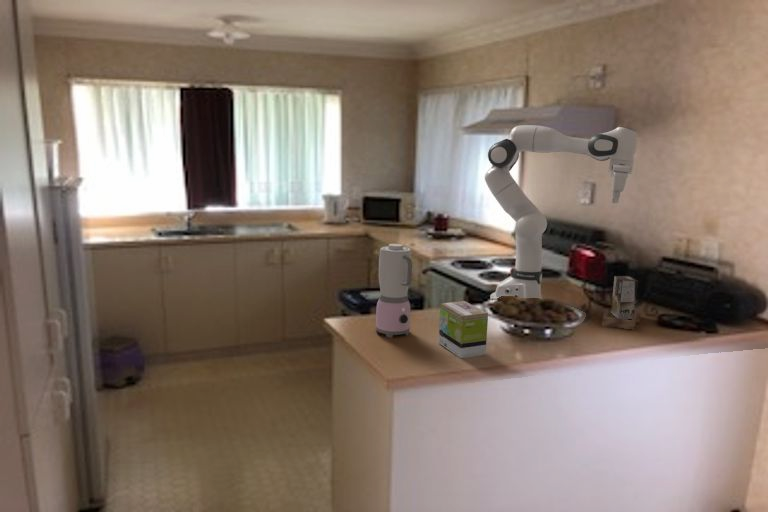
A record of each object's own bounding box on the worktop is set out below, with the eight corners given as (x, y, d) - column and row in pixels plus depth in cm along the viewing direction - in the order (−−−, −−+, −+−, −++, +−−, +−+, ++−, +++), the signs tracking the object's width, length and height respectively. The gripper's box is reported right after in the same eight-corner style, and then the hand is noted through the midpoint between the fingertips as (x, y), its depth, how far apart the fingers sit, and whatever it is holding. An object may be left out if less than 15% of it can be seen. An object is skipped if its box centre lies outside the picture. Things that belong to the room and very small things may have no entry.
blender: (368, 330, 215) (371, 243, 209) (396, 325, 222) (399, 240, 215) (393, 343, 202) (396, 250, 196) (421, 337, 209) (426, 248, 203)
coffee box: (634, 320, 238) (638, 280, 235) (618, 319, 238) (622, 280, 235) (625, 313, 247) (629, 275, 244) (610, 312, 247) (614, 275, 244)
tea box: (437, 344, 203) (439, 302, 200) (462, 340, 207) (465, 299, 204) (460, 359, 189) (462, 314, 186) (486, 355, 193) (489, 311, 190)
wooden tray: (598, 325, 230) (599, 316, 229) (602, 316, 241) (603, 308, 240) (636, 331, 224) (637, 322, 223) (639, 322, 235) (640, 313, 234)
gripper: (611, 169, 248) (605, 202, 250) (613, 166, 229) (607, 201, 230) (627, 170, 246) (621, 204, 248) (630, 167, 227) (624, 203, 228)
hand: (615, 203), depth 239 cm, fingers open, 8 cm apart
